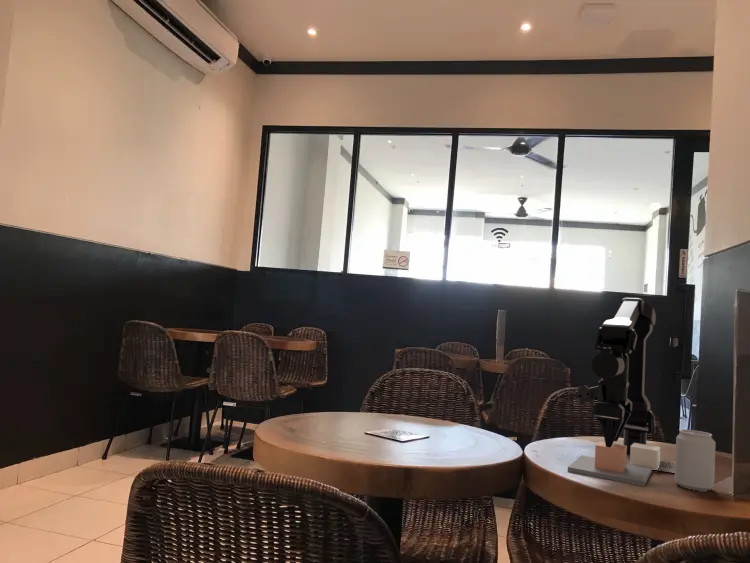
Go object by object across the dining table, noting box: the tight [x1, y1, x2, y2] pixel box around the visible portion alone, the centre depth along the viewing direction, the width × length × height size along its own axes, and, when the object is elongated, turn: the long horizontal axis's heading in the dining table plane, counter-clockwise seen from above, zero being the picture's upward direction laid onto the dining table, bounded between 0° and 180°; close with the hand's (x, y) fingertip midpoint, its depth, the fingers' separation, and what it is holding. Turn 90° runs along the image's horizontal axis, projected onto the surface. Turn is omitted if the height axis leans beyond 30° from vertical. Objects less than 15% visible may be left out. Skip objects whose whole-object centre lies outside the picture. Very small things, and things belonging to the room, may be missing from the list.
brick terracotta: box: [594, 440, 628, 472], centre depth 135 cm, size 6×6×5 cm
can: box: [674, 429, 716, 492], centre depth 126 cm, size 8×8×12 cm
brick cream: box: [629, 443, 661, 471], centre depth 143 cm, size 6×6×5 cm
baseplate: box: [567, 454, 653, 487], centre depth 134 cm, size 16×16×1 cm
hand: (611, 444), depth 135 cm, fingers open, 9 cm apart
